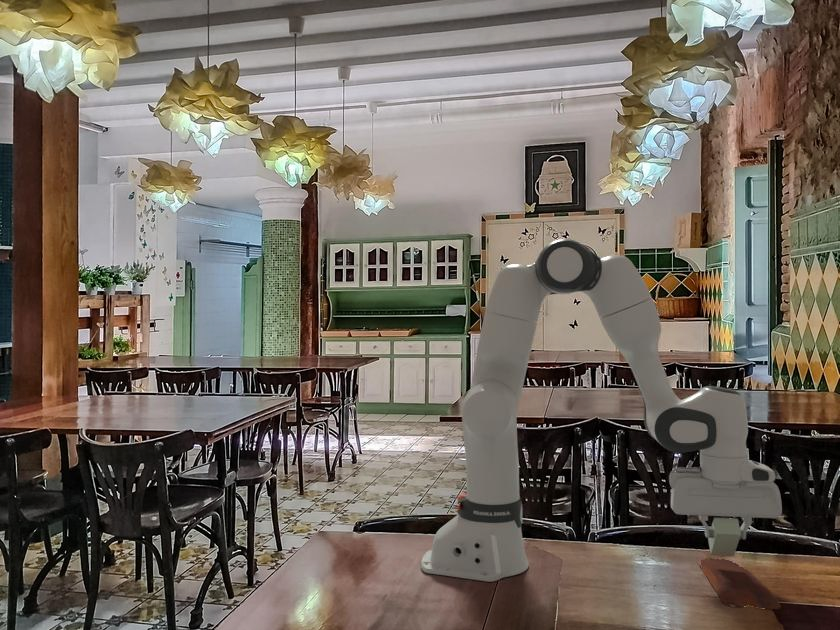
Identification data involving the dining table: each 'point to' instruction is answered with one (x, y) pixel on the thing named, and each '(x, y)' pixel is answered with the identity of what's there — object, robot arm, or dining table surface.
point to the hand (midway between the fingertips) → (725, 537)
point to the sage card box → (724, 536)
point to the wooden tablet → (738, 585)
